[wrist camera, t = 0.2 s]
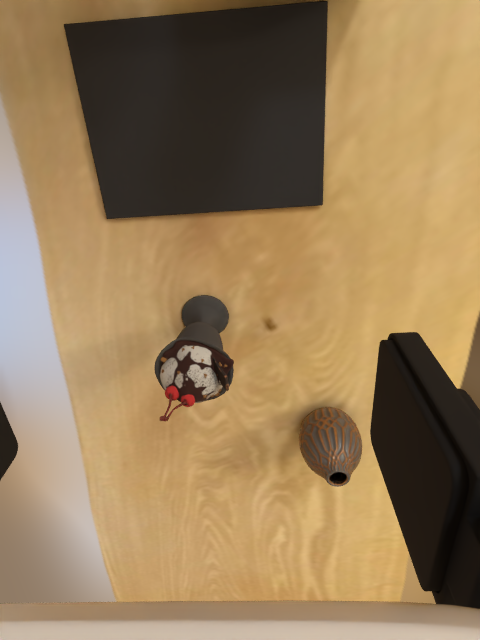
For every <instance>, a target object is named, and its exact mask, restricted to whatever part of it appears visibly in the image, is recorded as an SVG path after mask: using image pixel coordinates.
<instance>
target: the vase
mask: <svg viewBox="0 0 480 640" xmlns="http://www.w3.org/2000/svg"><path fill="white" fill-rule="evenodd" d="M299 444H300V450H301V453H302V456H303V458H304V460H305V462H306V463H307V465H308V466H309V467H310V468H311V470H313V471H314V472H315V473H316V474H318V475H319V476H321V477H323V478H324V479H325V480H326V481H327V482H328V483H329V484H330V485H332V486H343V485H345V484H347V483H348V482H349V480H350V477H351V474H352V472H353V471H354V470H355V469H356V467H357V466H358V464H359V462H360V459H361V454H362V440H361V436H360V433H359V430H358V428H357V426H356V424H355V423H354V421H353V420H352V419H351V418H350V417H349V416H348V415H347V414H346V413H345V412H343V411H341V410H339V409H336V408H331V407H325V408H320V409H317V410H315V411H313V412H311V413H310V414H309V415H308V416H307V417H306V418H305V420H304V421H303V423H302V425H301V429H300V434H299Z"/></svg>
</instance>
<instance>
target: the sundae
mask: <svg viewBox="0 0 480 640" xmlns="http://www.w3.org/2000/svg"><path fill="white" fill-rule="evenodd" d="M228 319H229V314H228V311H227V308H226V307H225V305H224V304H223V303H222V302H221V301H220V300H218V299H216V298H214V297H212V296H205V295H201V296H197V297H194V298H192V299H190V300H189V301H188V302H187V303H186V304H185V306H184V308H183V310H182V320H183V322H184V325H185V326H186V327H185V328H184V329H183V330H182V332H181V333H180V334H179V336H178V337H177V339H176V340H174V341H172V342H171V343H170V344H168V345H167V346H166V347H165V348H164V349H163V350H162V351H161V352H160V354H159V356H158V357H157V359H156V362H155V374H156V377H157V379H158V381H159V383H160V385H161V386H162V388H163V389H164V390H165V395H166V397H167V398H168V399H169V400H170V401H169V406H168V409H167V411H166V413H165V415H164V416H161V417H160V421H168V419H169V416H170V415H171V413H172V412H173V410H175V409H176V408H178V407H180V406H182V405H184V406H186V407H190V406H192V405H193V404H194V403H200V402H203V401H207V400H211V399H215V398H217V397H219V396H221V395H222V394H224V393H225V392H226V391H228V390H229V386H230V384H231V382H232V378H233V371H234V370H233V363H234V361H233V360H232V359H230V357H229V356H228V355H227V354H226V353H225V352H224V351H223V345H222V341H221V337H220V335H219V333H220V332H222V331H223V330H224V329H225V327H226V325H227V324H228ZM176 399H177V400H178V401H180V402H181V404H179V405H178V406H176V407H175V408H174V409H173V410H172V411H171V412H170V414H169V415H168V416H167V417H166V415H167V413H168V411H169V408H170V406H171V402H172V400H176Z"/></svg>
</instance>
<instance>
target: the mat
mask: <svg viewBox="0 0 480 640" xmlns="http://www.w3.org/2000/svg"><path fill="white" fill-rule="evenodd" d="M327 4H328V1H319V2H307V3H296V4H285V5H274V6H263V7H252V8H241V9H229V10H218V11H207V12H196V13H185V14H174V15H163V16H151V17H140V18H129V19H118V20H107V21H96V22H85V23H73V24H64V28H65V32H66V37H67V41H68V46H69V50H70V55H71V59H72V64H73V68H74V73H75V77H76V82H77V86H78V91H79V95H80V100H81V104H82V109H83V113H84V118H85V122H86V127H87V131H88V136H89V140H90V145H91V149H92V154H93V158H94V163H95V167H96V172H97V176H98V181H99V185H100V190H101V194H102V199H103V203H104V208H105V212H106V217H107V219H114V218H130V217H146V216H161V215H177V214H193V213H208V212H224V211H240V210H255V209H271V208H287V207H302V206H318V205H323V167H324V126H325V86H326V45H327Z"/></svg>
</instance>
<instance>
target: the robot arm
mask: <svg viewBox="0 0 480 640" xmlns="http://www.w3.org/2000/svg"><path fill="white" fill-rule="evenodd" d="M370 434H371V442H372V446H373V449H374V452H375V455H376V458H377V461H378V463H379V466H380V469H381V472H382V475H383V478H384V481H385V484H386V487H387V490H388V493H389V496H390V498H391V501H392V504H393V507H394V510H395V513H396V516H397V519H398V522H399V525H400V528H401V531H402V533H403V536H404V539H405V542H406V545H407V548H408V551H409V554H410V557H411V559H412V563H413V566H414V568H415V571H416V574H417V577H418V580H419V583H420V585H421V587H422V589H423V590H424V591H432V593H433V596H434V599H435V602H436V604H427V603H410V602H377V601H169V602H77V603H7V604H6V603H2V604H0V640H480V410H479V408H478V407H477V406H476V404H475V403H474V401H473V400H472V399H471V397H470V396H469V395H468V394H467V392H466V391H464V390H462V389H457V388H456V387H455V385H454V384H453V382H452V381H451V380H450V378H449V377H448V375H447V374H446V372H445V371H444V369H443V368H442V367H441V365H440V364H439V362H438V361H437V359H436V358H435V357H434V355H433V354H432V352H431V351H430V349H429V348H428V346H427V345H426V344H425V342H424V341H423V339H422V338H421V336H420V335H419V334H418V333H417V332H409V333H391V334H390V335H389V337H388V340H382V341H381V342H380V346H379V354H378V364H377V373H376V382H375V392H374V401H373V410H372V420H371V430H370ZM17 451H18V443H17V440H16V437H15V435H14V433H13V431H12V428H11V426H10V424H9V422H8V419H7V417H6V415H5V412H4V410H3V408H2V405H1V403H0V480H1V478H2V477H3V475H4V474H5V472H6V470H7V469H8V468H9V466H10V464H11V463H12V461H13V460H14V458H15V456H16V454H17Z"/></svg>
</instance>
